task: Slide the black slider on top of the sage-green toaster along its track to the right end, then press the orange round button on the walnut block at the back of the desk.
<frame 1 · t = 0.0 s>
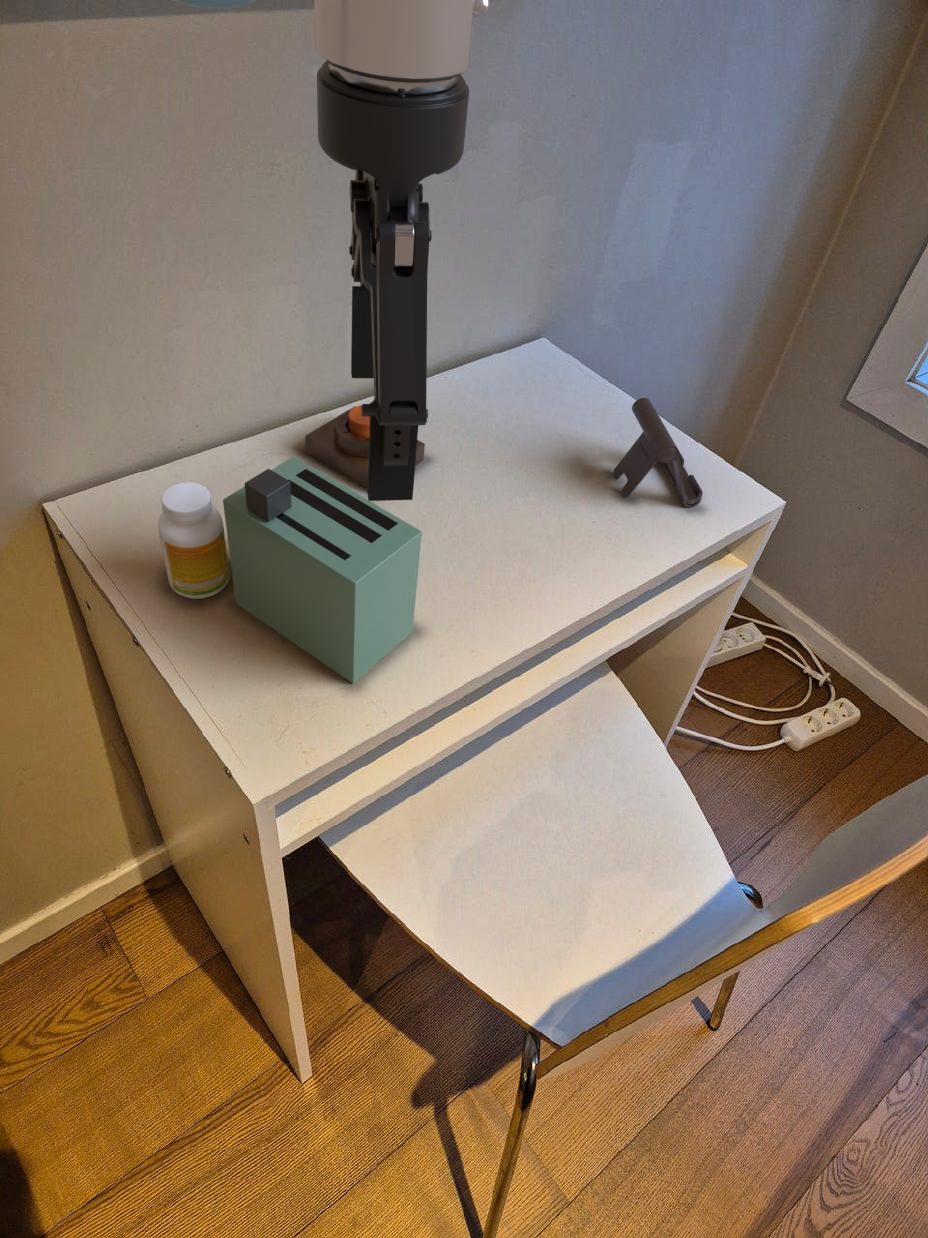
hand: (379, 431, 57), 23 cm above the table, tool pointing down, fingers open, 13 cm apart
tablet stand: (651, 486, 96), on the table
toaster: (324, 617, 77), on the table
supplement bottle: (200, 581, 79), on the table
slider: (268, 495, 67), point 13 cm above the table, slide at 0.0 cm
button block: (365, 456, 94), on the table
start button: (365, 421, 90), point 4 cm above the table, slide at 0.1 cm
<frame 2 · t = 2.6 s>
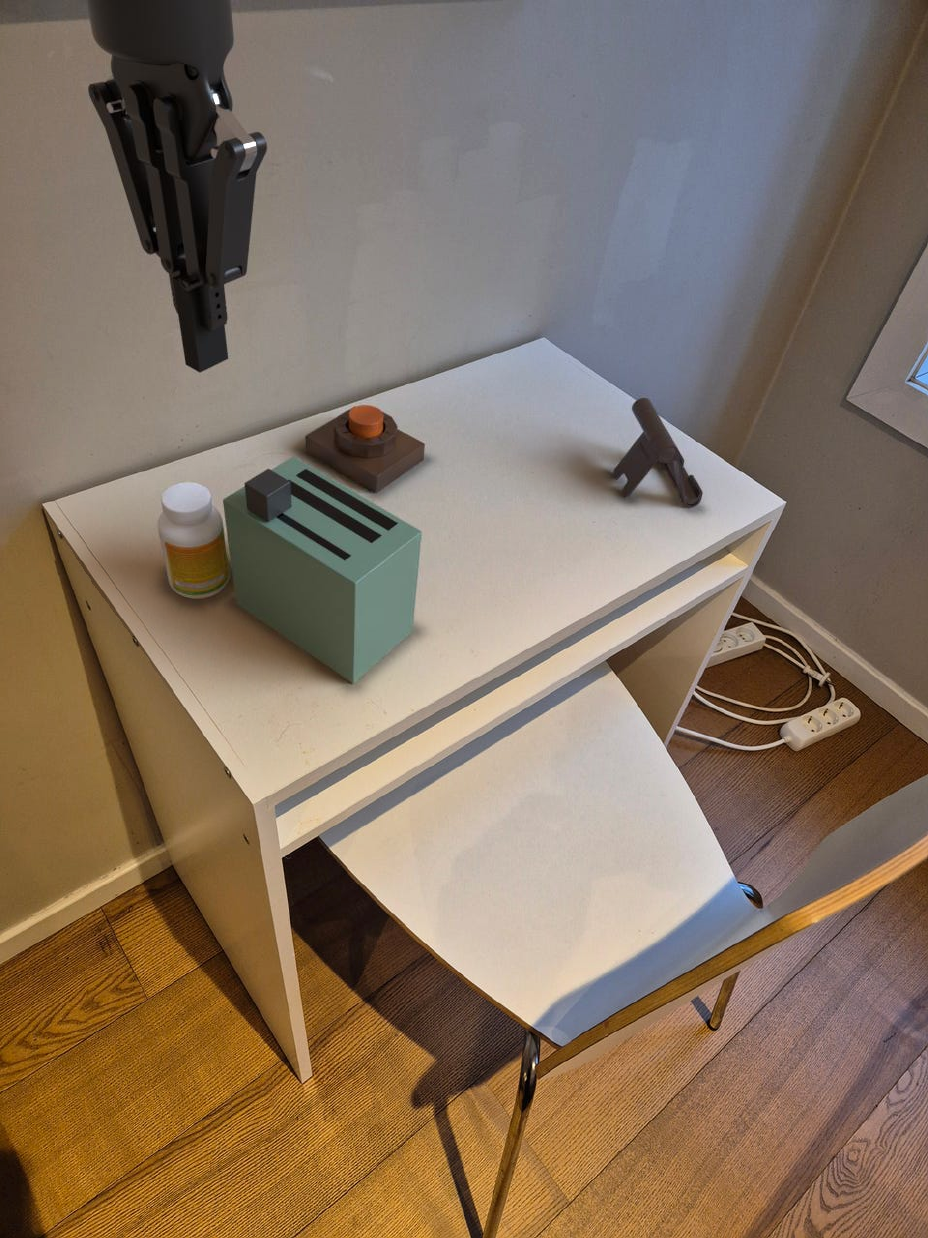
hand: (207, 361, 63), 23 cm above the table, tool pointing down, fingers closed
nothing on the table moved.
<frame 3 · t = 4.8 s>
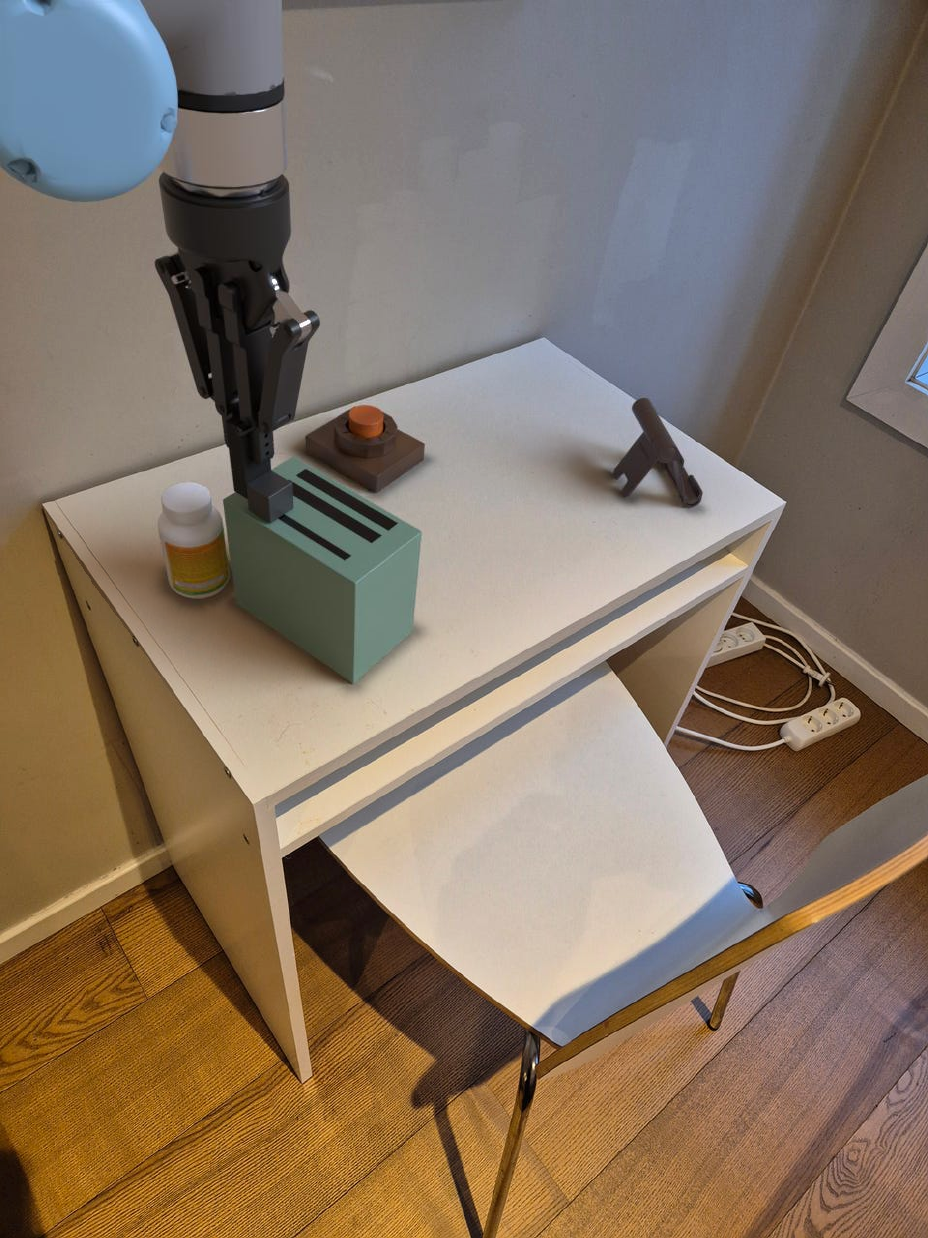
hand: (253, 486, 68), 13 cm above the table, tool pointing down, fingers closed
slider: (270, 496, 67), point 13 cm above the table, slide at 0.2 cm, touching gripper
everything else where it was.
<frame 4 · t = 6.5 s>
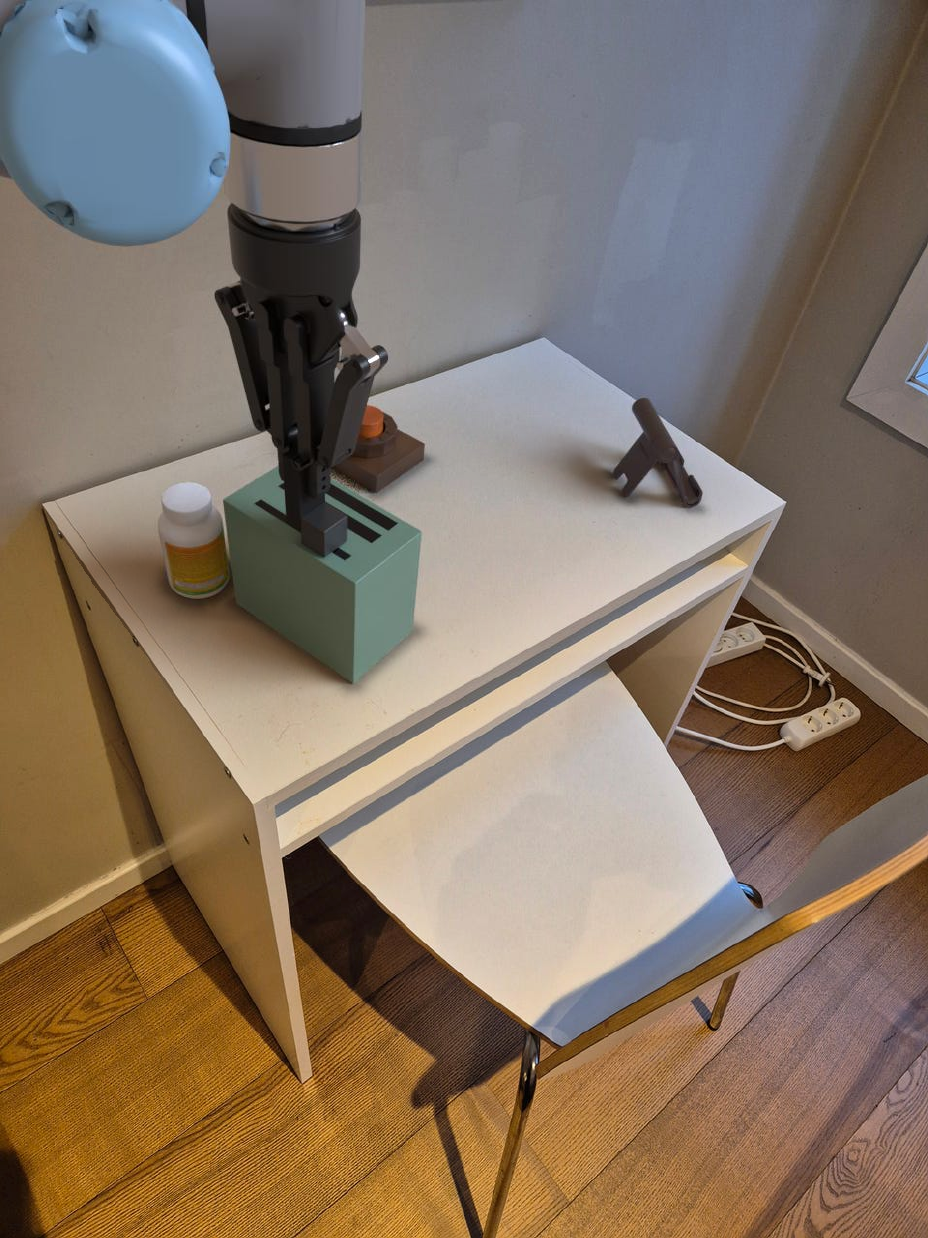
hand: (306, 519, 66), 13 cm above the table, tool pointing down, fingers closed
slider: (324, 529, 65), point 13 cm above the table, slide at 5.9 cm, touching gripper
everything else where it was.
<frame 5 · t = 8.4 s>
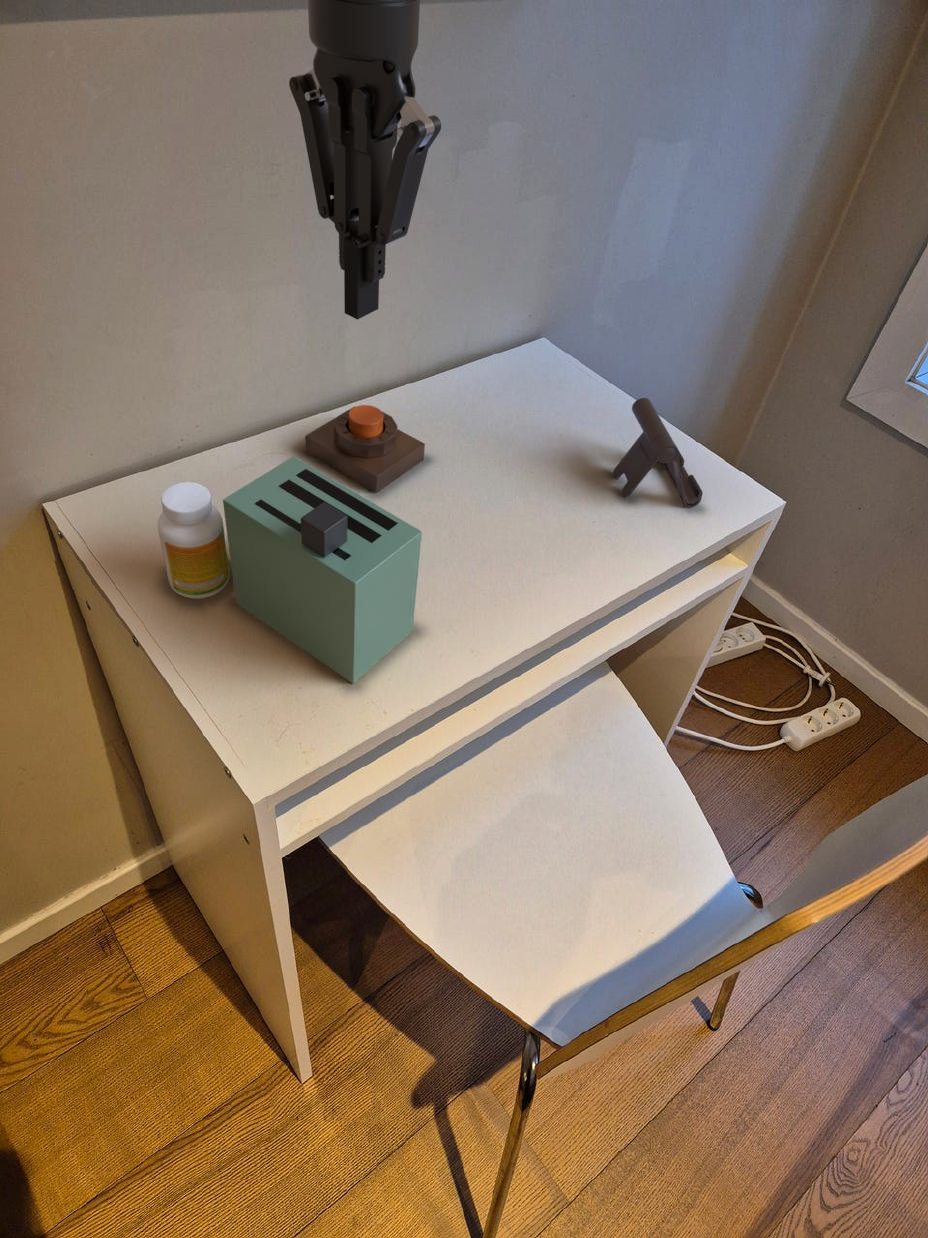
hand: (361, 310, 74), 20 cm above the table, tool pointing down, fingers closed
slider: (324, 529, 65), point 13 cm above the table, slide at 5.9 cm
everything else where it was.
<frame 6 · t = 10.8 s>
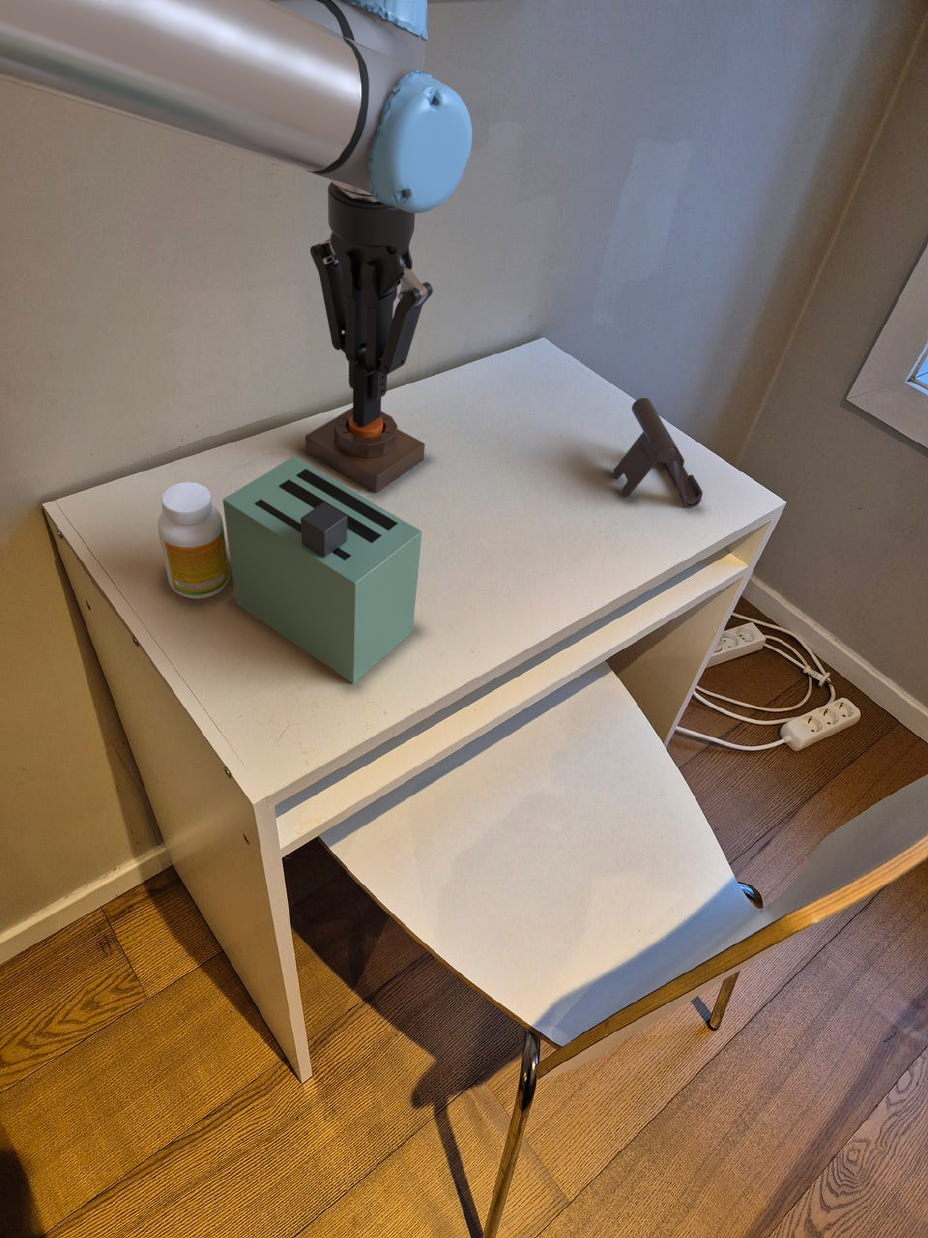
hand: (366, 418, 90), 5 cm above the table, tool pointing down, fingers closed
start button: (365, 428, 91), point 4 cm above the table, slide at -0.7 cm, touching gripper
everything else where it was.
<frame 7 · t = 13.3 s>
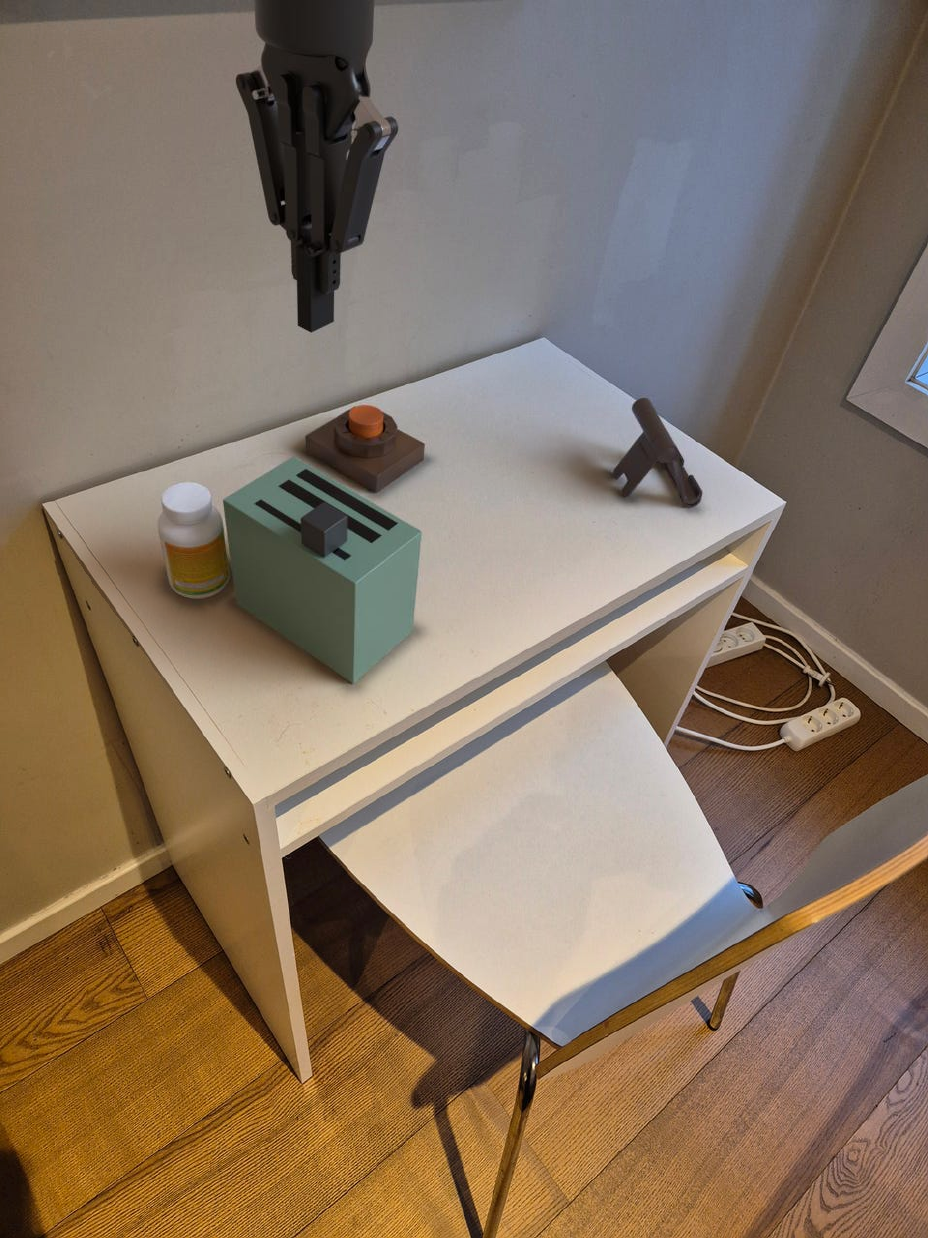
hand: (315, 323, 70), 21 cm above the table, tool pointing down, fingers closed
start button: (365, 421, 90), point 4 cm above the table, slide at 0.1 cm
everything else where it was.
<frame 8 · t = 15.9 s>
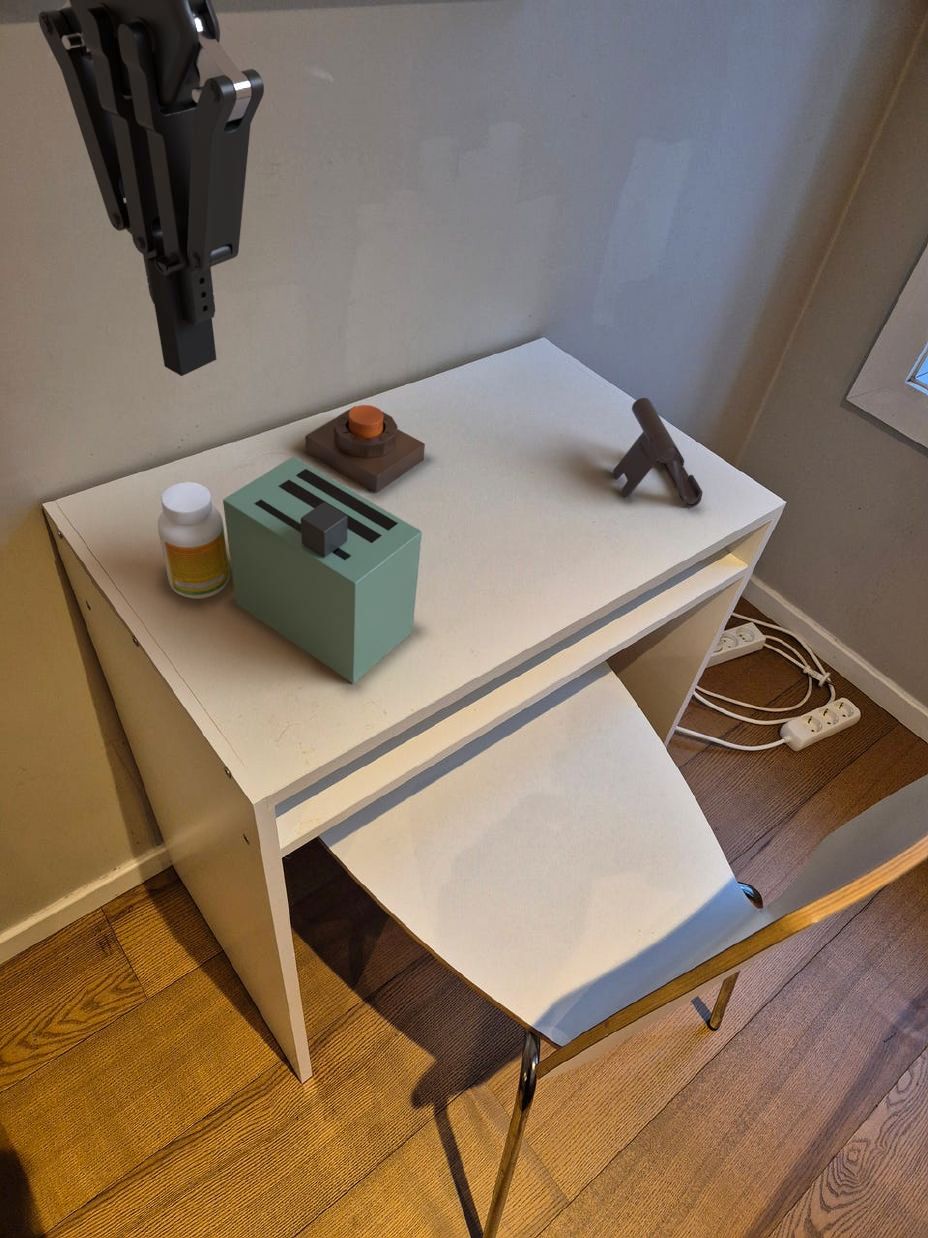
hand: (190, 362, 52), 28 cm above the table, tool pointing down, fingers closed
nothing on the table moved.
at the end: slider slide at 5.9 cm; start button pushed in 1.0 cm at the most during the clip, back to where it started at the end; start button slide at 0.1 cm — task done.
